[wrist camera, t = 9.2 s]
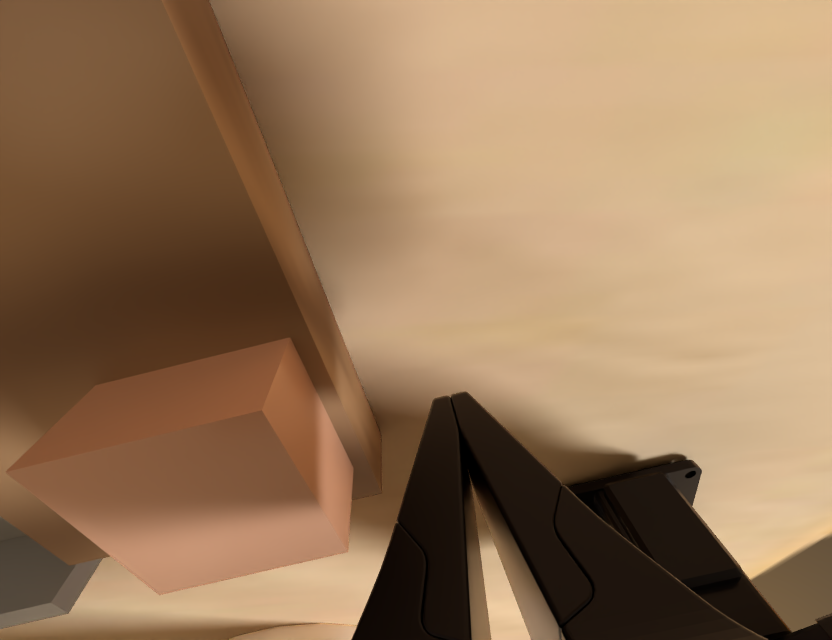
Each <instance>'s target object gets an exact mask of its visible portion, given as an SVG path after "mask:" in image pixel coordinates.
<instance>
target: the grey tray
mask: <svg viewBox="0 0 832 640" xmlns="http://www.w3.org/2000/svg"><path fill="white" fill-rule="evenodd" d="M102 559H103V558H101V559H96V560H92V561H88V562H83V563H79V564H75V565H71V566H69V565H68V564H66V563H65V562H64V561H62V560H61V559H59V558H58V557H57V556H55V555H54V554H52V553H51V552H50V551H48V550H47V549H45V548H44V547H43V546H41V545H40V544H38V543H37V542H36V541H34V540H33V539H31V538H30V537H29V536H27V535H26V534H24V533H23V532H22V531H20V530H19V529H17V528H16V527H15V526H13V525H12V524H10V523H9V522H8V521H6V520H5V519H3V518H2V517H1V516H0V629H3V628H7V627H11V626H16V625H20V624H25V623H29V622H33V621H38V620H42V619H46V618H51V617H55V616H60V615H64V614H68V613H69V612H70V610H71V609H72V607H73V605H74V604H75V602H76V601H77V599H78V597H79V596H80V594H81V592H82V591H83V589H84V588H85V586H86V584H87V583H88V581H89V580H90V578H91V576H92V575H93V573H94V571H95V570H96V568H97V567H98V565H99V563H100V562H101V560H102Z"/></svg>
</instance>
